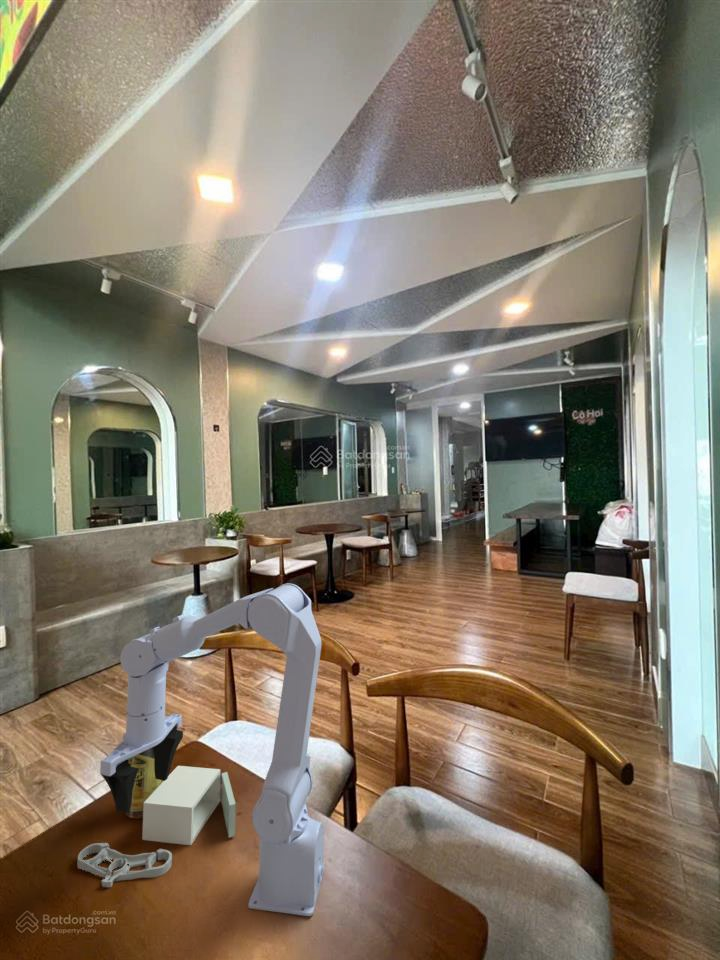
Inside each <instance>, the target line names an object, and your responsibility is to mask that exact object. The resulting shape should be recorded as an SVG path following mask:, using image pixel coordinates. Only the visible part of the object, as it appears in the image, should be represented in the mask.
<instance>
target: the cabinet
mask: <svg viewBox="0 0 720 960" xmlns="http://www.w3.org/2000/svg"><path fill="white" fill-rule="evenodd" d="M220 793H221V768H207V767H197V766H186V765H177V766H176V767H175V768H174V769H173V770H172V772H171V773H169V775H168V778H167V780H165V781H163V782H162V783H161V785H160V786H159V787H158V788H157V789H156V790H155V791H154V792H153V793H152V794H151V795H150V797H149V798H148V799H147V800H146V801H145V802H144V807H143V818H142V837H141V838H142V839H141V840H142V841H149V842H158V843H167V844H175V845H176V844H177V845H185V846H192V844H193V843H194V841H195V840H196V839H197V837H198V835H199V834H200V832H201V831H202V829H203V828H204V826H205V824H206V823H207V822H208V820H209V818H210V817H211V816H212V814H213V813H214V811H215V809H216V808H217V806H218V805H219V804H220V803H221V799H220Z"/></svg>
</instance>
